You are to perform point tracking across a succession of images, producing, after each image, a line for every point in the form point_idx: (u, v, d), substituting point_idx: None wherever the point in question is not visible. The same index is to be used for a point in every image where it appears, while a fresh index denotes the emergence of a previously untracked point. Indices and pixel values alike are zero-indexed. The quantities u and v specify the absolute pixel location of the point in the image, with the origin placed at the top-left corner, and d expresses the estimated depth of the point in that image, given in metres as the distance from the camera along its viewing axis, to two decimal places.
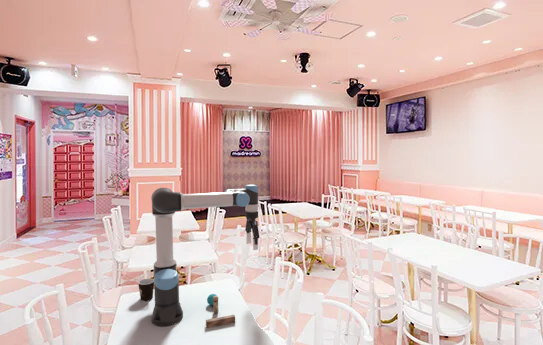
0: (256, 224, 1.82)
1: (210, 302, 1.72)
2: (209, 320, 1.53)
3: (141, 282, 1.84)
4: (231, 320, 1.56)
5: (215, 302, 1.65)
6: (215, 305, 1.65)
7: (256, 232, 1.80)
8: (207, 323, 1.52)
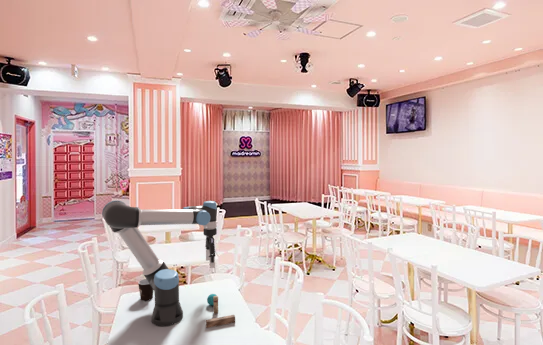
0: (213, 242, 1.79)
1: (210, 302, 1.72)
2: (209, 320, 1.53)
3: (141, 282, 1.84)
4: (231, 320, 1.56)
5: (215, 302, 1.65)
6: (215, 305, 1.65)
7: (212, 250, 1.77)
8: (207, 323, 1.52)
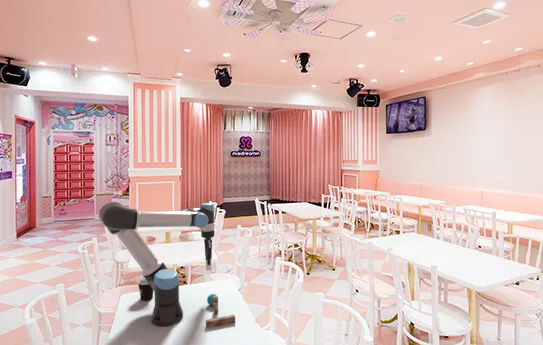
0: (210, 247, 1.80)
1: (210, 302, 1.72)
2: (209, 320, 1.53)
3: (141, 282, 1.84)
4: (231, 320, 1.56)
5: (215, 302, 1.65)
6: (215, 305, 1.65)
7: (209, 254, 1.82)
8: (207, 323, 1.52)
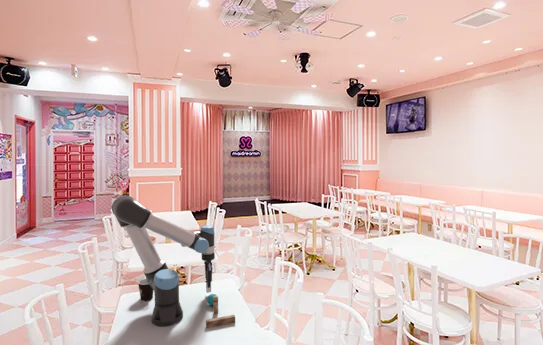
0: (210, 270, 1.81)
1: (210, 302, 1.72)
2: (209, 320, 1.53)
3: (141, 282, 1.84)
4: (231, 320, 1.56)
5: (215, 302, 1.65)
6: (215, 305, 1.65)
7: (209, 277, 1.82)
8: (207, 323, 1.52)
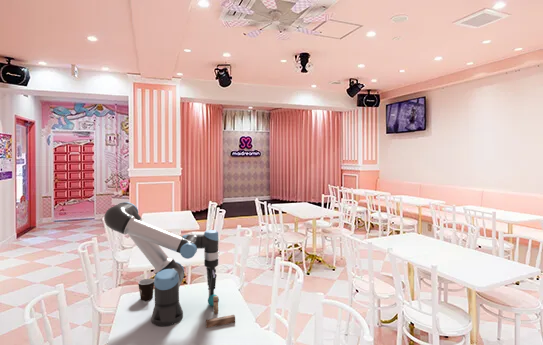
0: (214, 277, 1.71)
1: (211, 304, 1.72)
2: (209, 320, 1.53)
3: (141, 282, 1.84)
4: (231, 320, 1.56)
5: (215, 302, 1.65)
6: (215, 305, 1.65)
7: (213, 284, 1.73)
8: (207, 323, 1.52)
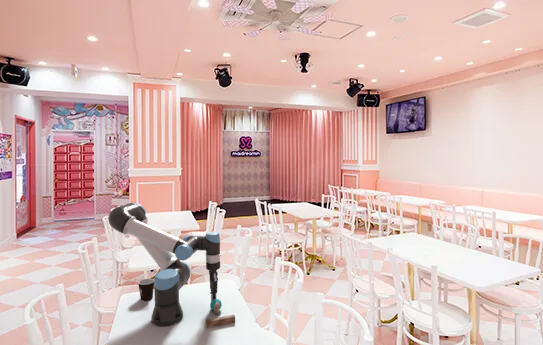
0: (216, 281, 1.66)
1: (213, 309, 1.66)
2: (209, 320, 1.53)
3: (141, 282, 1.84)
4: (231, 320, 1.56)
5: (216, 308, 1.61)
6: (216, 310, 1.62)
7: (214, 288, 1.68)
8: (207, 323, 1.52)
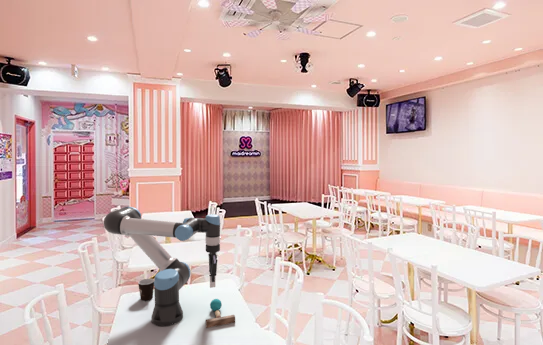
0: (215, 263, 1.66)
1: (213, 309, 1.66)
2: (209, 320, 1.53)
3: (141, 282, 1.84)
4: (231, 320, 1.56)
5: None
6: None
7: (214, 271, 1.67)
8: (207, 323, 1.52)
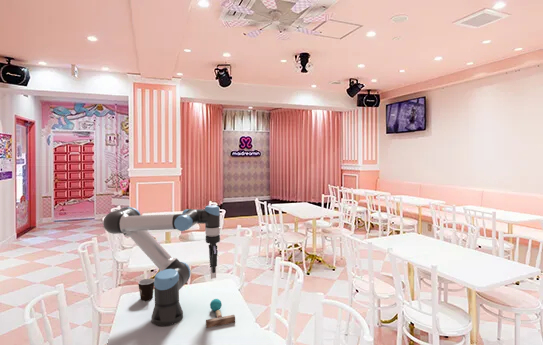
0: (215, 254, 1.65)
1: (213, 309, 1.66)
2: (209, 320, 1.53)
3: (141, 282, 1.84)
4: (231, 320, 1.56)
5: None
6: None
7: (214, 261, 1.67)
8: (207, 323, 1.52)
